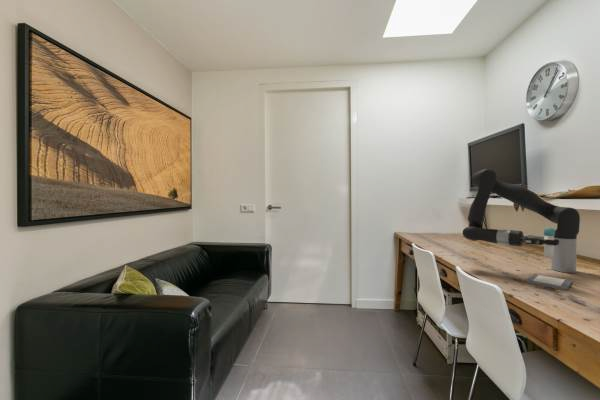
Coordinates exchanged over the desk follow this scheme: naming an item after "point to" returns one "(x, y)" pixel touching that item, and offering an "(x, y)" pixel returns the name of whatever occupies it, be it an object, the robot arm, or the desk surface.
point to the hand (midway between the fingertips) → (557, 242)
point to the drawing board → (549, 281)
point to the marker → (549, 249)
